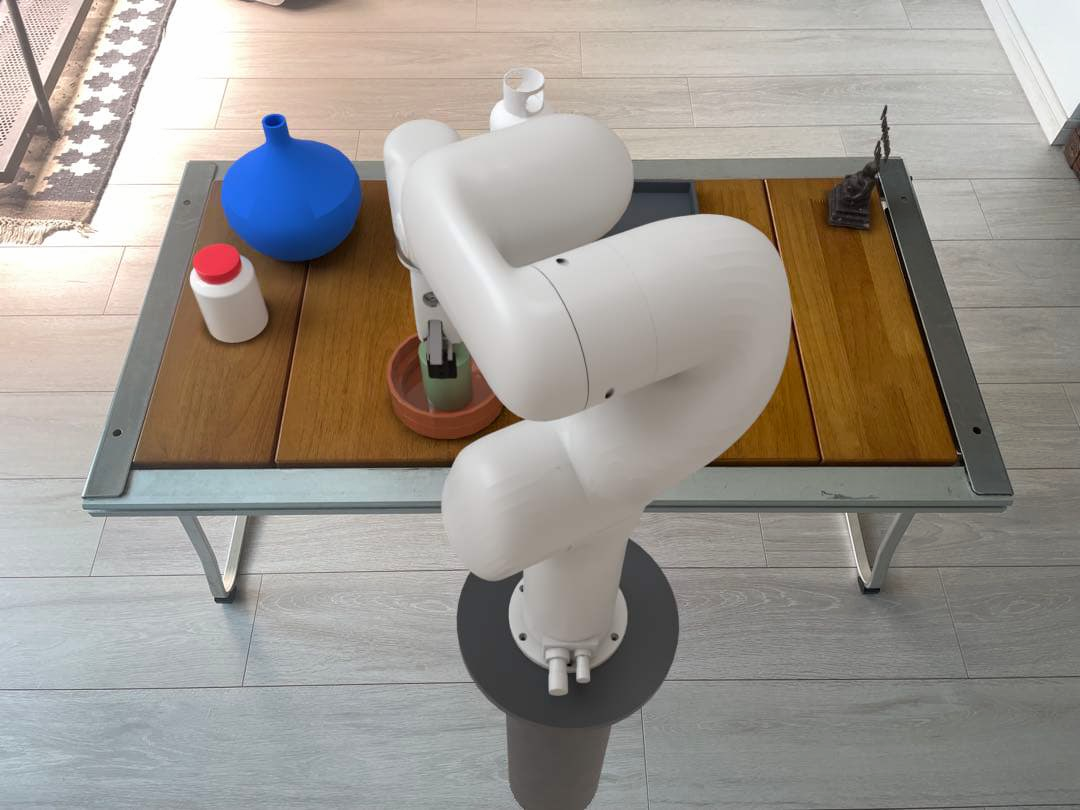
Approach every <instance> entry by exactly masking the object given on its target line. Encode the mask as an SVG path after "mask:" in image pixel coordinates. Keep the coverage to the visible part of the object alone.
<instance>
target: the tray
mask: <svg viewBox="0 0 1080 810" xmlns="http://www.w3.org/2000/svg"><path fill="white" fill-rule="evenodd" d="M695 183H696V182H695V179H652V178H651V179H650V178H649V179H648V178H647V179H646V178H642V179H641V178H640V179H639V178H634V185H633V190H632V195H631V199H630V202H629V204H628V206H627V209H626V211H625V212H624V214H623V215H622V217H621V218H620V220H619V221H618V222H617V223H616V224H615V225H614V226H613V228H612V229H611V230H610V231H608V232H607V233H606V234H605V235H603V236H602V237H601V238H599V239H597V240H596V241H598V240H601V239H604V238H608V237H610V236H613V235H616V234H619V233H622V232H625V231H628V230H631V229H634V228H637V227H640V226H643V225H646V224H649V223H652V222H656V221H660V220H665V219H669V218H674V217H681V216H689V215H697V214H700V209H699V202H698V195H697V189H696V184H695ZM594 242H595V241H594ZM592 243H593V242H592Z"/></svg>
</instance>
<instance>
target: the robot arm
mask: <svg viewBox="0 0 1080 810" xmlns="http://www.w3.org/2000/svg"><path fill="white" fill-rule="evenodd" d="M382 157H383V165H384V173H385V180H386V187H387V193H388V199H389V200H388V201H389V208H390V214H391V221H392V227H393V233H394V235H393V236H394V240H395V249H396V254H397V257H398V259H399V261H400V263H401V264H402V265H403V266H404V267H405V268H407V269H408V270H409V275H410V288H411V294H412V303H413V304H412V305H413V311H414V312H413V313H414V318H415V327H416V333H417V332H418V337H419V339H420V340H421V341H422V342H423V343H425V341H426V345H427V352H426V359H427V366H428V374H429V378H431V379H455V378H457V364H456V353H454V352H453V345H452V344H455V343H458V344H459V343H461V342H462V341H463V342H464V344H465V345H466V347H467V349H468V350H469V352H470V354H471V356H472V357H473V359H474V361H475V363H476V364H477V366H478V368H479V369H480V371H481V373H482V374H483V376H484V378H485V379H486V381H487V383H488V385H489V386H490V388H491V389H492V391H493V392H494V393H495V395H496V396H497V397H498V399H499V400H500V401H501V402H502V403H503V404H504V405H503V406H504V407H506V409H508V411H510V412H511V413H513V414H514V415H516V416H517V417H519V418H521V419H523V420H520V421H518V422H516V423H513V424H510V425H507V426H505V427H503V428H501V429H498V430H496V431H494V432H490V433H489V434H486V435H484V436H482V437H480V438H478V439H476V440H475V441H473V442H471V443H470V444H468V445H467V446H465V447H464V448H463V449H461V450H460V451H459V453H458V454H457V456H456V457H455V459H454V461H453V463H452V466H451V468H450V469H449V472H448V474H447V476H446V478H445V480H444V483H443V486H442V492H441V500H440V509H441V510H440V511H441V518H442V524H443V528H444V532H445V535H446V538H447V540H448V543H449V545H450V547H451V549H452V551H453V553H454V554H455V555H456V557H457V558H458V560H459V562H461V564H463V566H464V567H465V568H466V569H467V570H469V571H471V572H472V573H474V574H475V575H476V576H478V577H480V578H482V579H485V580H488V581H498V580H502V579H504V578H507V577H509V576H511V575H514V574H516V573H518V572H520V571H522V570H523V578H522V579H521V581H520V582H519V583H518V585H517V586H516V588H515V590H514V592H513V595H512V597H511V601H510V605H509V624H510V629H511V632H512V636H513V638H514V640H515V642H516V644H517V646H518V647H519V648H520V649H521V651H522V652H523V653H524V654H525V655H526V656H527V657H528V658H529V659H530V660H532V661H533V662H534V663H536V664H538V665H540V666H541V667H543V668H546V669H549V694H551V695H556V696H560V695H565V694H567V693H568V675H567V673H576V681H577V682H579V683H587V682H589V681H590V669H592V668H595V667H597V666H599V665H601V664H602V663H604V662H605V661H606V660H608V659H609V658H610V657H611V656H612V655H613V654H614V653H615V652H616V650H617V649H618V647H619V646H620V644H621V642H622V640H623V637H624V634H625V632H626V626H627V615H628V612H627V606H626V602H625V599H624V596H623V594H622V592H621V590H620V588H619V583H620V577H621V572H622V566H623V561H624V556H625V551H626V546H627V542H628V539H629V538H630V536H631V534H632V533H633V531H634V529H635V528H636V526H637V525H638V523H639V521H640V519H641V518H642V515H643V513H644V511H645V508H646V507H647V506H649V505H650V504H651V503H652V502H654V501H655V500H657V499H658V498H659V497H661V496H662V495H664V494H665V493H667V492H669V491H671V490H672V489H674V488H676V487H677V486H679V484H681V483H682V482H684V481H685V480H686V479H688V478H689V477H691V476H692V475H693V474H695V473H697V472H698V471H700V470H701V469H703V468H704V467H705V466H707V465H709V464H710V463H711V462H713V461H714V460H716V459H717V458H718V457H719V456H721V455H723V453H725V452H727V450H728V449H729V448H731V447H732V446H733V445H734V444H735V443H736V442H737V441H738V440H739V439H740V438H741V437H742V436H744V434H745V433H746V432H747V431H748V430H749V429H750V428H751V427H752V425H753V424H754V423H755V422H756V421H757V419H758V418H759V417H760V415H761V414H762V412H763V411H764V410H765V409H766V407H767V405H768V404H769V403H770V400H771V399H772V397H773V395H774V393H775V391H776V389H777V387H778V385H779V383H780V380H781V377H782V375H783V371H784V369H785V366H786V362H787V358H788V353H789V348H790V341H791V328H792V300H791V299H792V298H791V291H790V290H791V289H790V284H789V280H788V276H787V271H786V268H785V266H784V263H783V261H782V259H781V256H780V253H779V251H778V250H777V248H776V246H775V245H774V244H773V243H772V241H771V240H770V239H769V238H768V237H767V235H766V234H765V233H764V232H762V231H761V230H759V229H758V228H756V227H755V226H754V225H752V224H750V223H749V222H747V221H745V220H742V219H740V218H738V217H737V218H736V217H734V216H733V217H732V216H728V215H724V214H723V215H722V214H711V213H699V214H697V215H689V216H681V217H674V218H669V219H665V220H660V221H656V222H652V223H649V224H646V225H643V226H640V227H637V228H634V229H631V230H628V231H625V232H622V233H619V234H616V235H613V236H610V237H608V238H604V239H601V240H598V241H596V240H597V239H599V238H601V237H602V236H603V235H605V234H606V233H607V232H608V231H610V230H611V229H612V228H613V226H614V225H615V224H616V223H617V222H618V221H619V220H620V218H621V217H622V215H623V214H624V212H625V211H626V209H627V206H628V204H629V202H630V199H631V195H632V190H633V185H634V179H635V175H634V174H635V173H634V165H633V161H632V157H631V154H630V152H629V149H628V148H627V146H626V144H625V142H624V141H623V140H622V139H621V138H620V136H619V135H618V134H617V133H616V132H615V131H614V130H612V129H611V128H610V127H609V126H608V125H606V124H604V123H603V122H601V121H599V120H598V119H594V118H592V117H590V116H587V115H582V114H576V113H557V114H553V115H547V116H542V117H538V118H534V119H531V120H528V121H525V122H522V123H519V124H516V125H512V126H509V127H505V128H502V129H499V130H495V131H492V132H490V131H489V132H486V133H483V134H479V135H475V136H470V137H468V138H465V139H462V137H461V135H460V133H458V131H457V130H456V129H455V128H454V127H452V126H451V125H449V124H447V123H445V122H443V121H440V120H436V119H431V118H420V119H419V118H418V119H413V120H409V121H407V122H404V123H401V124H400V125H398V126H396V127H395V128H394V129H392V130H391V131H390V133H389V134H388V135H387V137H386V138H385V141H384V144H383V150H382ZM594 241H595V242H594ZM592 242H593V243H592ZM442 329H443V332H442ZM442 341H447V349H442ZM522 590H523V592H521V591H522ZM522 638H524V639H525V641H521V639H522ZM613 638H614V639H616V641H613V640H612V639H613ZM567 664H571V665H572V666H570V667H569V666H567Z"/></svg>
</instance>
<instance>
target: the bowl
mask: <svg viewBox="0 0 1080 810" xmlns="http://www.w3.org/2000/svg"><path fill="white" fill-rule="evenodd" d="M421 342H422V341H421V340H420V339H419V337H418V332H417V331H416V332H415V333H413V334H410V335H408V337H406V338H405V339H404V340H403V341H402V342H400V344H399V345H397V347H396V348H394V350H393V352H392V354H391V355H390V358H389V360H388V363H387V368H386V382H387V387H388V391H389V396H390V401H391V405H392V409H393V411H394V414H395V415H396V416H397V418H398V419H399V420H400V422H401V423H402V424H403V425H404V426H405V427H407V428H408V429H410V430H412V431H413V432H415V433H416V434H418V435H421V436H424V437H428V438H432V439H435V440H456V439H460V438H463V437H468V436H471V435H472V436H473V435H475V434H476V433H479V432H480V431H481V430H483V429H485V428H487V427H489V426H490V425H491V424H492V423H493V422H494V421H495V420H496V419H497V418H498V416H499V415H500V414H501V412H502V410H503V408H504V406H505V405H504V404H503V403H502V402H501V401H500V400H499V399H498V397H497V396H496V395H495V393H494V392H493V391H492V389H491V388H490V386H489V385H488V383H487V381H486V379H485V378H484V376H483V374H482V373H481V371H480V369H479V368H478V366H477V364H476V363H475V361H474V359H473V357H472V356H471V361H472V375H473V390H474V392H473V397H472V399H471V400H470V402H469V403H468V404H467V405H466V406H464V407H463V408H461V409H459V410H455V411H440V410H437V409H435V408H433V407H432V406H430V405H429V404H428V402H427V401H426V399H425V395H424V388H423V381H422V374H421V367H420V360H419V346H420V344H421Z"/></svg>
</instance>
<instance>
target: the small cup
mask: <svg viewBox="0 0 1080 810" xmlns="http://www.w3.org/2000/svg"><path fill="white" fill-rule="evenodd" d="M442 332H443V329H442ZM452 345H453V352H454V353H456V364H457V378H455V379H431V378H429V374H428V366H427V359H426V352H427V345H426V341H425V343H423V342H421V344H420V346H419V360H420V367H421V374H422V381H423V388H424V395H425V399H426V401H427V402H428V404H429V405H430V406H432V407H433V408H435V409H437V410H440V411H455V410H459V409H461V408H463V407H464V406H466V405H467V404H468V403H469V402H470V400H471V399H472V397H473V392H474V390H473V375H472V361H471V354H470V352H469V350H468V349H467V347H466V345H465V344H464V342H463V341H462V342H461V343H459V344H458V343H455V344H452ZM442 349H447V341H442Z"/></svg>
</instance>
